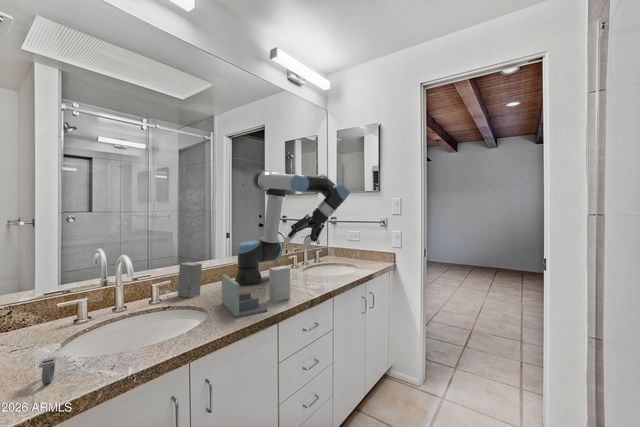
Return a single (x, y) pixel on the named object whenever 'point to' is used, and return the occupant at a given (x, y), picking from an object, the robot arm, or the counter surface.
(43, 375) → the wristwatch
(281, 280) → the skincare box
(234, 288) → the holder
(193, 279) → the skincare box
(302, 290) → the counter surface
